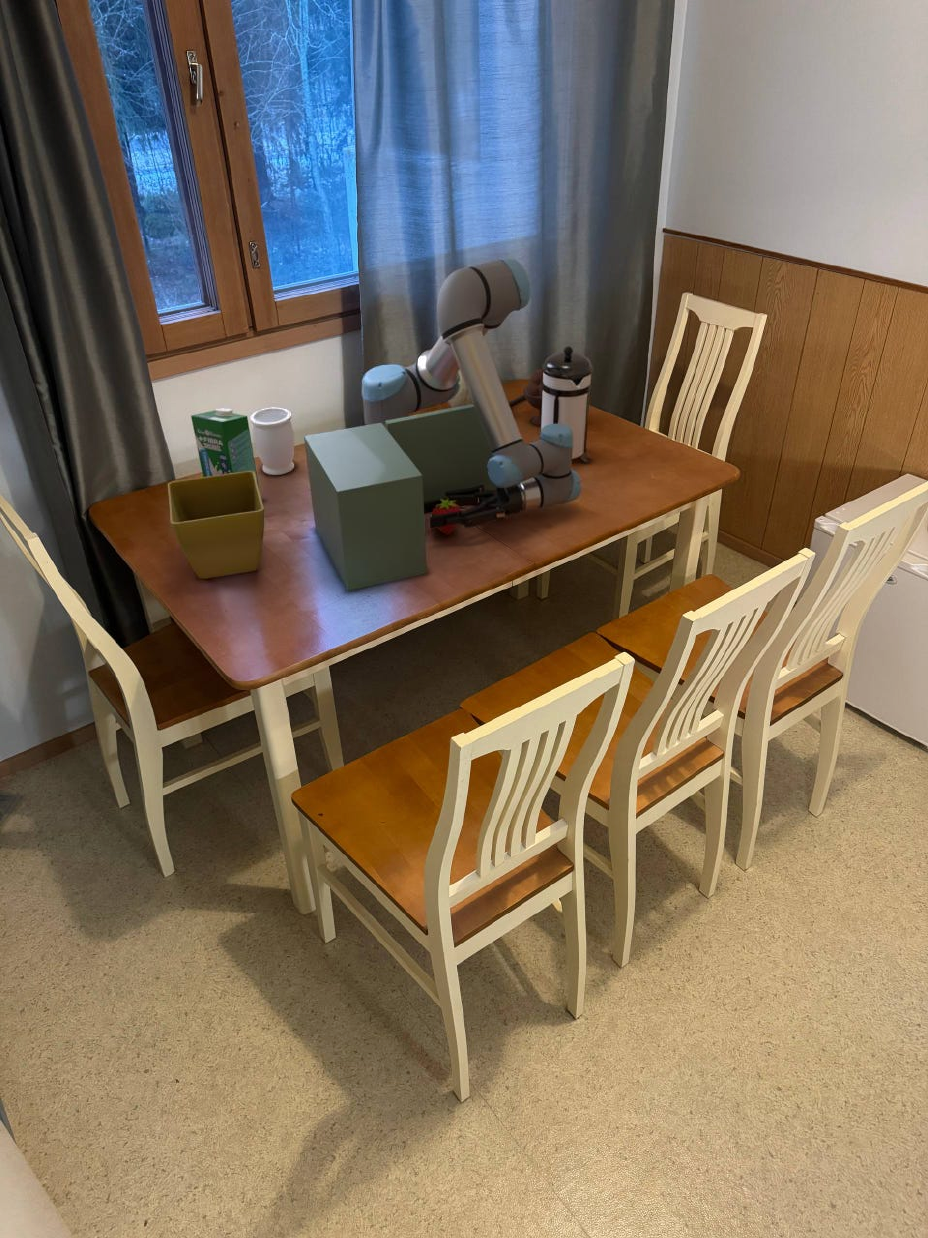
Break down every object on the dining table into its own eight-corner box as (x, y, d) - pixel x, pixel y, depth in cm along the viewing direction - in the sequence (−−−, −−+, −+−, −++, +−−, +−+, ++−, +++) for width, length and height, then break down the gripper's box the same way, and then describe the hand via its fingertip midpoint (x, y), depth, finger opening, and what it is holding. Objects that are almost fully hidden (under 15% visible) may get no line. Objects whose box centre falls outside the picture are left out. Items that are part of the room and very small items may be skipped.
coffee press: (601, 450, 251) (610, 341, 234) (574, 473, 240) (581, 361, 223) (545, 436, 259) (549, 329, 241) (516, 458, 248) (519, 348, 230)
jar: (290, 479, 240) (282, 425, 231) (252, 475, 242) (243, 422, 233) (303, 460, 249) (296, 408, 240) (267, 457, 250) (259, 405, 242)
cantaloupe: (440, 420, 268) (438, 370, 260) (449, 400, 280) (448, 351, 271) (490, 423, 266) (491, 373, 257) (497, 402, 278) (498, 354, 269)
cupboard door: (382, 501, 230) (376, 411, 216) (484, 478, 239) (484, 390, 225) (393, 514, 224) (387, 423, 210) (497, 490, 233) (498, 401, 219)
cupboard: (388, 514, 225) (381, 422, 211) (426, 573, 204) (422, 475, 189) (315, 529, 220) (303, 435, 205) (347, 591, 198) (337, 491, 184)
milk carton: (261, 500, 231) (246, 406, 216) (239, 517, 225) (222, 421, 210) (231, 494, 234) (214, 400, 220) (209, 510, 228) (190, 414, 213)
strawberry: (426, 535, 217) (424, 497, 211) (449, 523, 221) (448, 486, 215) (444, 544, 213) (442, 506, 207) (467, 532, 217) (466, 494, 212)
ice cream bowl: (518, 426, 264) (519, 376, 255) (530, 411, 273) (532, 362, 264) (553, 432, 261) (555, 381, 252) (565, 416, 269) (567, 366, 260)
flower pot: (275, 576, 203) (264, 509, 194) (186, 591, 199) (170, 523, 189) (264, 533, 218) (254, 469, 208) (181, 547, 214) (167, 482, 204)
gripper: (534, 529, 214) (440, 550, 207) (501, 492, 228) (412, 510, 221) (535, 500, 209) (439, 520, 203) (501, 465, 224) (411, 482, 217)
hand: (425, 515), depth 212 cm, fingers closed on strawberry, 6 cm apart
